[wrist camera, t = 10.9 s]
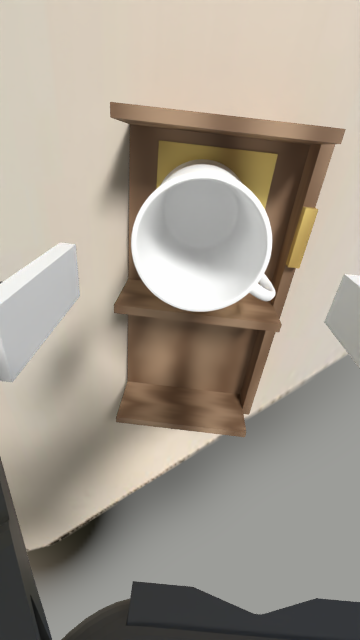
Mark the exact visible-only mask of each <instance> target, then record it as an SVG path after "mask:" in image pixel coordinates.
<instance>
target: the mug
mask: <svg viewBox="0 0 360 640" xmlns="http://www.w3.org/2000/svg"><path fill="white" fill-rule="evenodd" d="M131 250H132V257H133V261H134V264H135V267H136V270H137V272H138V274H139V276H140V278H141V279H142V281H143V282H144V284H145V285H146V286H147V288H148V289H149V290H150V291H151V292H152V293H153V294H154V295H155V296H157V297H158V298H159V299H161V300H162V301H164V302H165V303H167V304H169V305H171V306H174V307H176V308H179V309H183V310H187V311H195V312H206V311H213V310H218V309H222V308H225V307H227V306H230V305H232V304H234V303H236V302H237V301H239V300H240V299H242V298H243V297H245V296H246V295H247V294H248V293H250V294H252V295H253V296H255V297H256V298H258V299H260V300H263V301H270V300H272V299H273V298H274V296H275V289H274V287H273V285H272V283H271V282H270V281H269V279H268V278H267V276H266V275H265V274H264V272H265V270H266V268H267V266H268V263H269V260H270V256H271V250H272V231H271V226H270V222H269V218H268V216H267V213H266V211H265V209H264V207H263V206H262V204H261V202H260V201H259V200H258V198H257V197H256V196H255V195H254V194H253V193H252V192H251V191H250V190H249V189H248V188H247V187H246V186H245V185H244V184H242V183H241V181H240V180H239V178H238V177H237V176H236V174H235V173H234V172H233V171H232V170H230V169H229V168H228V167H226V166H225V165H223V164H221V163H219V162H216V161H213V160H207V159H198V160H192V161H188V162H185V163H183V164H181V165H179V166H178V167H176V168H175V169H173V170H172V171H171V172H170V173H169V174H168V175H167V176H166V177H165V179H164V180H163V182H162V183H161V185H160V186H159V187H158V188H157V189H156V190H155V191H154V192H153V193H152V194H151V195H150V196H149V197H148V198H147V200H146V201H145V202H144V204H143V205H142V207H141V208H140V210H139V212H138V214H137V217H136V219H135V222H134V226H133V230H132V237H131ZM258 282H259V284H260V285H259V284H258Z"/></svg>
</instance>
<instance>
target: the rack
mask: <svg viewBox="0 0 360 640" xmlns="http://www.w3.org/2000/svg"><path fill="white" fill-rule="evenodd" d="M110 117H111V118H114V119H117V120H119V121H122V122H125V123H128V124H130V162H129V274H128V281H127V283H126V284H125V286H124V288H123V290H122V292H121V293H120V295H119V297H118V299H117V301H116V302H115V304H114V313H120V314H128V381H127V385H126V388H125V391H124V394H123V397H122V401H121V404H120V407H119V410H118V413H117V416H116V422H120V423H129V424H137V425H146V426H154V427H163V428H171V429H180V430H188V431H197V432H205V433H214V434H222V435H231V436H240V437H245V435H246V428H245V422H244V415H243V414H249V413H250V410H251V407H252V403H253V400H254V397H255V394H256V391H257V388H258V385H259V382H260V378H261V375H262V372H263V369H264V366H265V363H266V360H267V356H268V353H269V350H270V347H271V344H272V341H273V338H274V335H275V332H279V331H280V328H281V325H282V324H281V322H280V320H279V319H280V316H281V313H282V309H283V306H284V303H285V300H286V297H287V294H288V291H289V288H290V284H291V281H292V278H293V275H294V272H295V269H296V268H299V267H300V264H301V261H302V258H303V255H304V252H305V249H306V246H307V243H308V240H309V237H310V234H311V230H312V227H313V224H314V221H315V218H316V215H317V212H318V209H316V208H315V206H316V203H317V200H318V197H319V194H320V190H321V187H322V184H323V181H324V178H325V175H326V172H327V168H328V165H329V162H330V159H331V156H332V153H333V150H334V147H335V144H341V142H342V139H343V136H344V133H345V129H340V128H331V127H323V126H314V125H305V124H297V123H288V122H279V121H271V120H262V119H253V118H245V117H236V116H227V115H219V114H210V113H201V112H193V111H184V110H175V109H167V108H158V107H149V106H141V105H132V104H123V103H115V102H110ZM198 159H207V160H213V161H216V162H219V163H221V164H223V165H225V166H226V167H228V168H229V169H230V170H232V171H233V172H234V173H235V174H236V176H237V177H238V178H239V180H240V181H241V183H242V184H244V185H245V186H246V187H247V188H248V189H249V190H250V191H251V192H252V193H253V194H254V195H255V196H256V197H257V198H258V200H259V201H260V202H261V204H262V206H263V207H264V209H265V211H266V213H267V216H268V218H269V222H270V226H271V231H272V250H271V256H270V260H269V263H268V266H267V268H266V270H265V272H264V274H265V275H266V276H267V278H268V279H269V281H270V282H271V283H272V285H273V287H274V289H275V296H274V298H273V299H272V300H270V301H263V300H260V299H258V298H256V297H255V296H253V295H252V294H250V293H248V294H247V295H246V296H245V297H243V298H242V299H240V300H239V301H237V302H236V303H234V304H232V305H230V306H227V307H225V308H222V309H218V310H213V311H206V312H195V311H187V310H183V309H179V308H176V307H174V306H171V305H169V304H167V303H165V302H164V301H162V300H161V299H159V298H158V297H157V296H155V295H154V294H153V293H152V292H151V291H150V290H149V289H148V288H147V286H146V285H145V284H144V282H143V281H142V279H141V278H140V276H139V274H138V272H137V270H136V267H135V264H134V261H133V257H132V250H131V237H132V230H133V226H134V222H135V219H136V217H137V214H138V212H139V210H140V208H141V207H142V205H143V204H144V202H145V201H146V200H147V198H148V197H149V196H150V195H151V194H152V193H153V192H154V191H155V190H156V189H157V188H158V187H159V186H160V185H161V183H162V182H163V180H164V179H165V177H166V176H167V175H168V174H169V173H170V172H171V171H172V170H173V169H175V168H176V167H178V166H179V165H181V164H183V163H185V162H188V161H192V160H198ZM258 284H259V282H258ZM259 285H260V284H259Z"/></svg>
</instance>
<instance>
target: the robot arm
mask: <svg viewBox="0 0 360 640" xmlns="http://www.w3.org/2000/svg"><path fill="white" fill-rule="evenodd" d="M79 296H80V290H79V278H78V266H77V254H76V244H67V243H59V244H57V245H56V246H54V247H53V248H51V249H50V250H48V251H47V252H46V253H44V254H43V255H41V256H40V257H38V258H37V259H35V260H34V261H32V262H31V263H30V264H28V265H27V266H25V267H24V268H22V269H21V270H19V271H18V272H17V273H15V274H14V275H12V276H11V277H9V278H8V279H6V280H5V281H4V282H0V381H6V382H13V381H14V380H15V378H16V377H17V376H18V375H19V373H20V372H21V371H22V369H23V368H24V367H25V366H26V364H27V363H28V362H29V361H30V359H31V358H32V357H33V355H34V354H35V353H36V352H37V350H38V349H39V348H40V346H41V345H42V344H43V343H44V341H45V340H46V339H47V337H48V336H49V335H50V334H51V332H52V331H53V330H54V328H55V327H56V326H57V325H58V323H59V322H60V321H61V320H62V318H63V317H64V316H65V314H66V313H67V312H68V311H69V309H70V308H71V307H72V305H73V304H74V303H75V302H76V300H77V299H78V298H79ZM325 324H326V325H327V326H328V327H329V329H330V330H331V331H332V333H333V334H334V335H335V337H336V338H337V339H338V341H339V342H340V343H341V345H342V346H343V347H344V349H345V350H346V351H347V352H348V354H349V355H350V356H351V358H352V359H353V360H354V362H355V363H356V364H357V366H358V367H359V368H360V276H358V275H349V274H344V276H343V278H342V280H341V283H340V285H339V288H338V290H337V293H336V295H335V297H334V300H333V302H332V305H331V307H330V310H329V312H328V314H327V317H326V319H325ZM0 640H52V638H51V634H50V630H49V627H48V623H47V620H46V617H45V613H44V610H43V607H42V604H41V601H40V597H39V594H38V591H37V587H36V584H35V580H34V577H33V573H32V570H31V566H30V563H29V559H28V555H27V552H26V548H25V544H24V541H23V537H22V534H21V530H20V526H19V523H18V519H17V515H16V512H15V508H14V505H13V501H12V497H11V494H10V490H9V487H8V483H7V479H6V476H5V472H4V468H3V465H2V461H1V458H0ZM62 640H360V602H350V601H339V600H328V599H318V598H316V599H313V600H310V601H306V602H303V603H299V604H296V605H293V606H289V607H286V608H283V609H279V610H276V611H273V612H269V613H266V614H262V615H258V614H253V613H251V612H248V611H246V610H243V609H241V608H239V607H237V606H234V605H232V604H230V603H228V602H226V601H223V600H221V599H219V598H216V597H214V596H212V595H210V594H208V593H205V592H203V591H201V590H199V589H196V588H194V587H188V586H187V587H186V586H177V585H166V584H156V583H145V582H134V581H133V585H132V591H131V598H130V599H127V600H123V601H120V602H116V603H114V604H112V605H109V606H107V607H105V608H103V609H101V610H99V611H97V612H96V613H94V614H93V615H91V616H89V617H88V618H86V619H85V620H84V621H82V622H81V623H80V624H79V625H77V626H76V627H75V628H74V629H72V630H71V631H70V632H69V633H68V634H67V635H66V636H65V637H64V638H63V639H62Z"/></svg>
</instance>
